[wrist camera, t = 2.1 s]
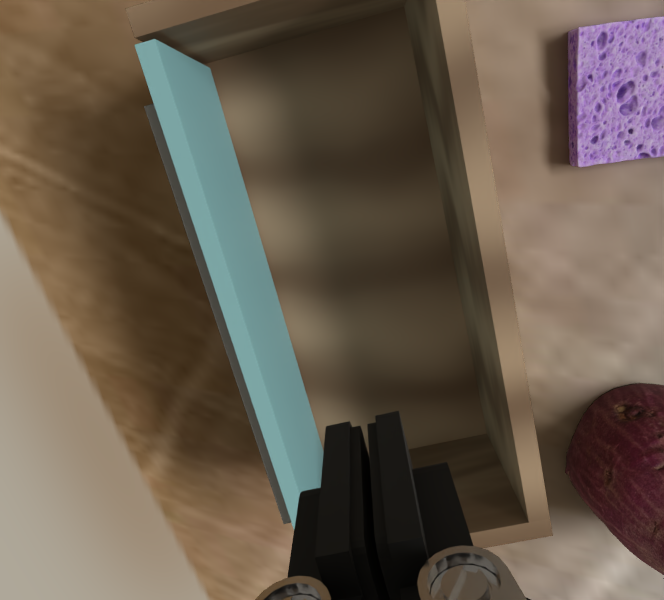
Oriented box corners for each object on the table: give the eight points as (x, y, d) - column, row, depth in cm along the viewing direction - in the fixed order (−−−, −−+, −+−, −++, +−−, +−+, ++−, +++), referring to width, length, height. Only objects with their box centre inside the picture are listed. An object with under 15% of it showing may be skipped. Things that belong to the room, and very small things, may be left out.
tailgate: (184, 75, 27) (119, 49, 19) (210, 67, 27) (154, 38, 19) (306, 468, 34) (293, 565, 26) (327, 464, 33) (320, 560, 26)
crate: (197, 51, 28) (125, 8, 19) (416, -13, 27) (449, -91, 18) (321, 467, 36) (312, 579, 26) (498, 431, 34) (552, 535, 25)
